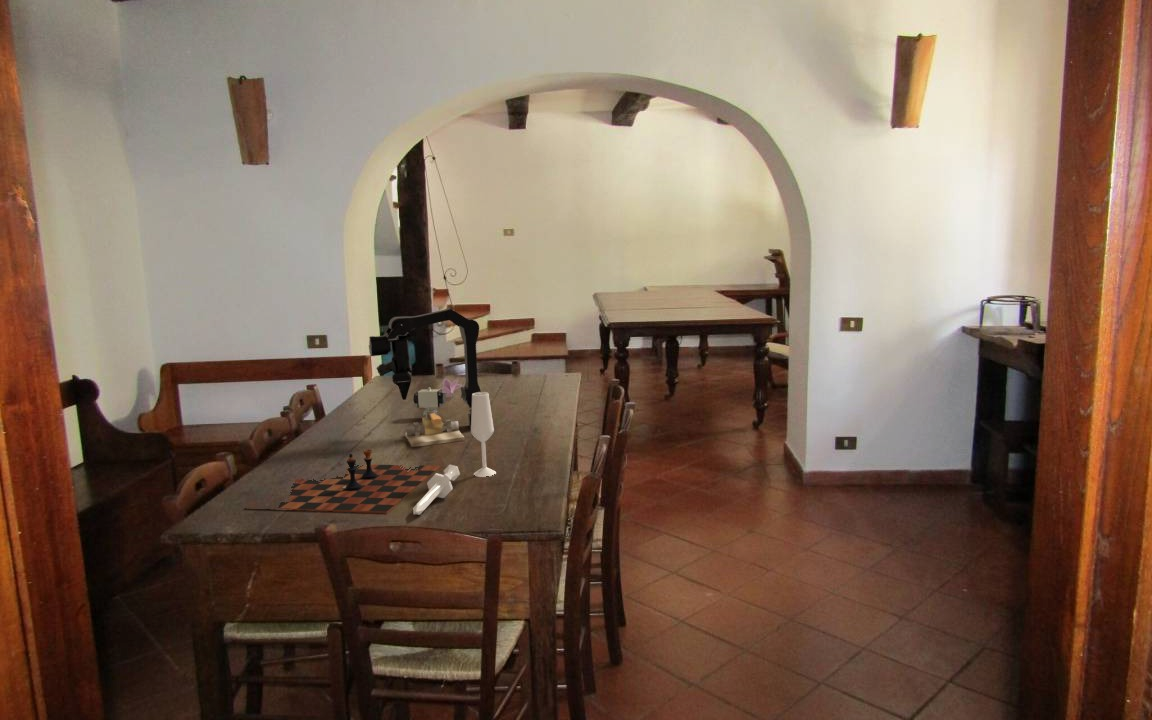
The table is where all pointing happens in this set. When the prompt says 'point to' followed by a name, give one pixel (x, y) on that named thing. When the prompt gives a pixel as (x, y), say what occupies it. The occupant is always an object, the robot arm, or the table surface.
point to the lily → (450, 387)
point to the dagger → (437, 488)
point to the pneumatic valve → (429, 399)
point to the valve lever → (434, 417)
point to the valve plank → (435, 438)
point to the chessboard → (358, 488)
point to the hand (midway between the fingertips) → (404, 396)
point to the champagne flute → (482, 427)
